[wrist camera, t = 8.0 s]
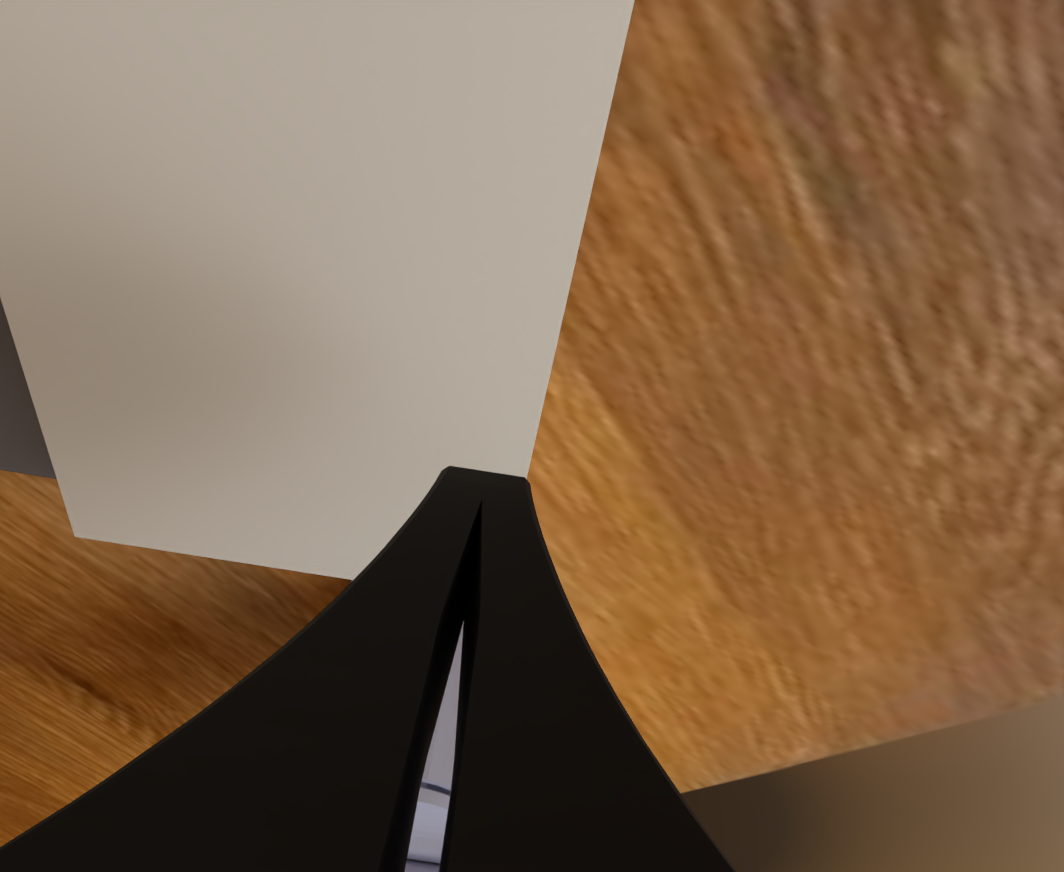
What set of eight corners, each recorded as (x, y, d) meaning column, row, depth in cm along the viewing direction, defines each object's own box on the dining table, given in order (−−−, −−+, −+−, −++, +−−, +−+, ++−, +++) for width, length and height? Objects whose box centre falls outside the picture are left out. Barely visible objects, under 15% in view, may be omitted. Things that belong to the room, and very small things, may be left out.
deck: (506, 526, 23) (498, 602, 20) (148, 466, 22) (74, 536, 19) (682, -292, 12) (735, -450, 8) (-46, -491, 11) (-330, -763, 7)
